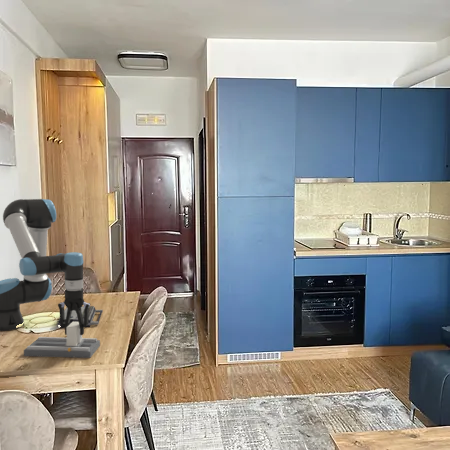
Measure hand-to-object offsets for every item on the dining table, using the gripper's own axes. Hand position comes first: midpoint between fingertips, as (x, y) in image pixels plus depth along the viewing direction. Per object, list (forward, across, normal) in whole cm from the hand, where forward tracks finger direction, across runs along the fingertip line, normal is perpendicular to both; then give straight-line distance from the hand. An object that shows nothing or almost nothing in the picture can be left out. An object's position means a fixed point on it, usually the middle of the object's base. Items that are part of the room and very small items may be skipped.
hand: (74, 341), depth 196 cm
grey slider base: (+4, -5, 0) cm, 6 cm away
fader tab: (+1, 0, 0) cm, 1 cm away
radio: (+5, -11, +43) cm, 44 cm away
